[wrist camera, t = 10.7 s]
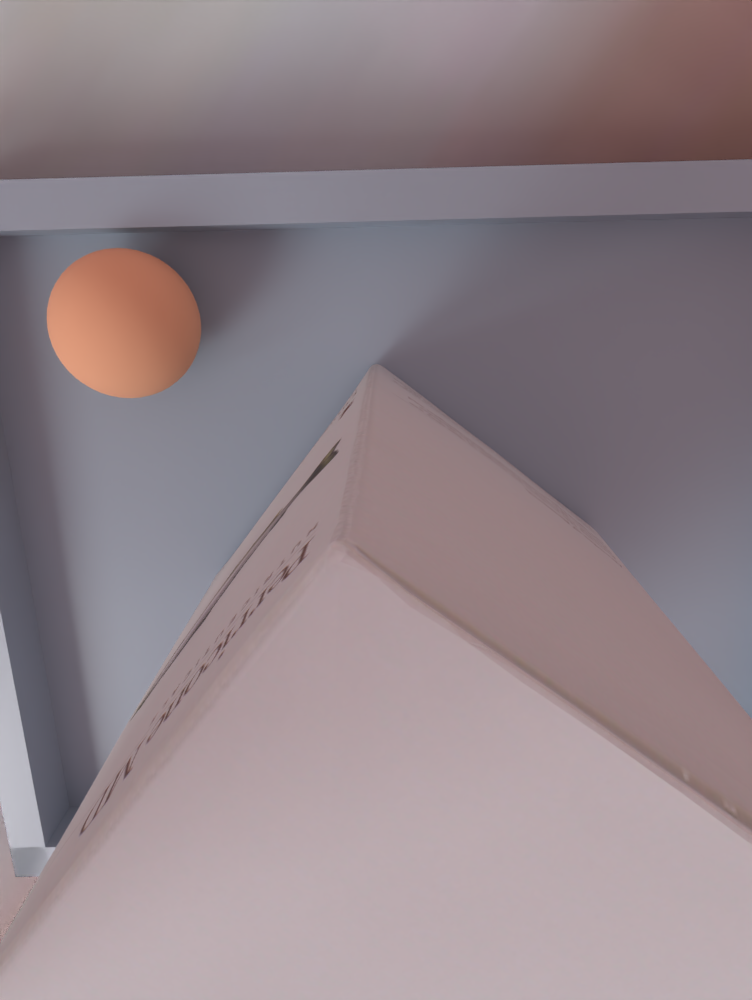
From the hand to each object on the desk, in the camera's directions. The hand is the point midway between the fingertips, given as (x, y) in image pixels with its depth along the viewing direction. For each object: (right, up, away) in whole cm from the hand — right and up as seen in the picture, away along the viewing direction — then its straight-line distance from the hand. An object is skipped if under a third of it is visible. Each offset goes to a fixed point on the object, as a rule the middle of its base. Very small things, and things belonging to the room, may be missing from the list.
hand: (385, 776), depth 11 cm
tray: (+1, +3, +9) cm, 10 cm away
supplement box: (+1, +3, +9) cm, 9 cm away
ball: (-6, +8, +7) cm, 12 cm away
